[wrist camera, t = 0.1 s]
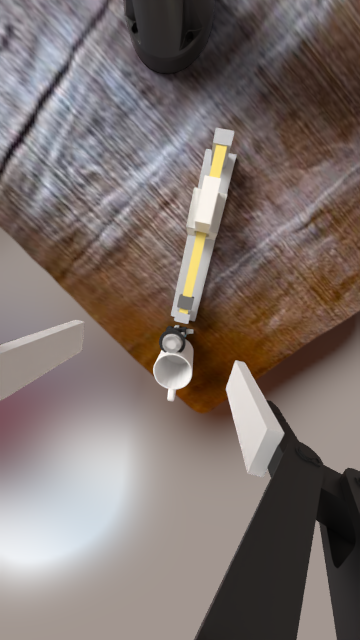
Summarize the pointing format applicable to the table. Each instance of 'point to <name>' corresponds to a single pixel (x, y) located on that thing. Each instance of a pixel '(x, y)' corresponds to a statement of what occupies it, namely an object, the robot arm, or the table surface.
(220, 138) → the linear slide rail
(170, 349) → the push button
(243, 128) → the table surface
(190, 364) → the mug
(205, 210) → the white stepped block
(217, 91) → the table surface
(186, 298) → the long yellow bar
